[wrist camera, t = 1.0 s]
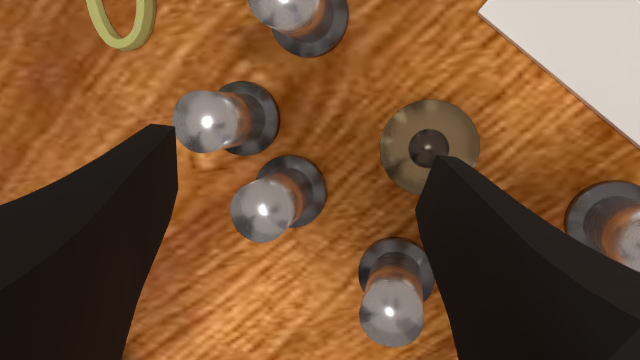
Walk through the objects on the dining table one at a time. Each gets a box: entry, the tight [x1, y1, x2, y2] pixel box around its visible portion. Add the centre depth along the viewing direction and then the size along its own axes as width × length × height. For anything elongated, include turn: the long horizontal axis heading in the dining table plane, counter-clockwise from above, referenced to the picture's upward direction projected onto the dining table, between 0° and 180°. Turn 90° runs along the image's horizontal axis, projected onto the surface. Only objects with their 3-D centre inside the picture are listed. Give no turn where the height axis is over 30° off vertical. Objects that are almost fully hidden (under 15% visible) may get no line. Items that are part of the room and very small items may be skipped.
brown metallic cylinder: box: [380, 100, 480, 195], centre depth 21 cm, size 4×4×5 cm
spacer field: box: [172, 0, 640, 347], centre depth 20 cm, size 24×20×6 cm
